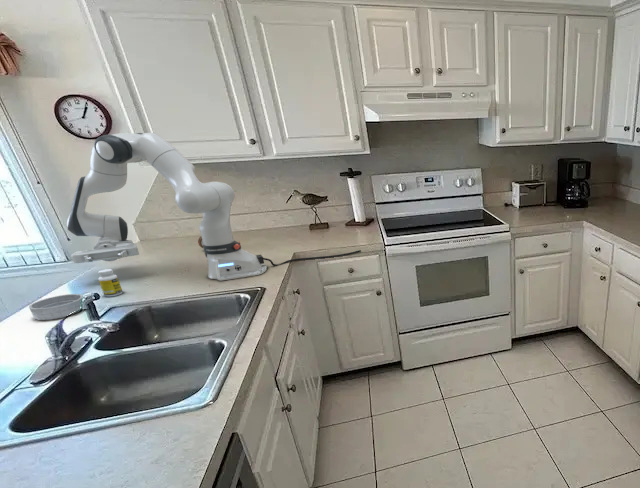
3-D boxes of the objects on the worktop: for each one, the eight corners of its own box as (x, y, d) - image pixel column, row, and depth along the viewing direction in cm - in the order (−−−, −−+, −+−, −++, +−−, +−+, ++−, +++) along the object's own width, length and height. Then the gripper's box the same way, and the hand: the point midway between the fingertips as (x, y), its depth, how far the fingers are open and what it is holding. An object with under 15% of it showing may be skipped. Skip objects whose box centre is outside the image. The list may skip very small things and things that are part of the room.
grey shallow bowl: (95, 303, 151) (90, 292, 150) (75, 317, 140) (70, 305, 138) (49, 308, 147) (44, 296, 146) (24, 323, 136) (18, 311, 134)
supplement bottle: (119, 296, 158) (109, 272, 154) (101, 297, 156) (92, 273, 153) (126, 291, 163) (117, 267, 159) (109, 292, 161) (100, 269, 157)
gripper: (71, 247, 167) (65, 254, 157) (136, 239, 179) (135, 246, 168) (77, 261, 169) (72, 270, 159) (141, 253, 181) (140, 260, 171)
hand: (105, 257), depth 164 cm, fingers open, 8 cm apart
